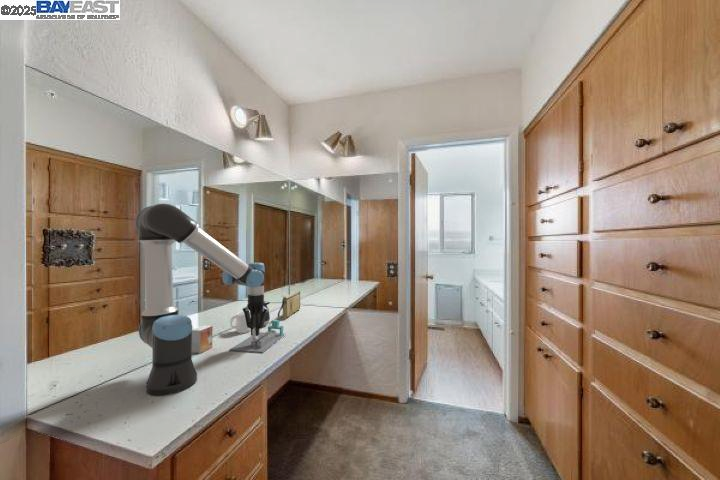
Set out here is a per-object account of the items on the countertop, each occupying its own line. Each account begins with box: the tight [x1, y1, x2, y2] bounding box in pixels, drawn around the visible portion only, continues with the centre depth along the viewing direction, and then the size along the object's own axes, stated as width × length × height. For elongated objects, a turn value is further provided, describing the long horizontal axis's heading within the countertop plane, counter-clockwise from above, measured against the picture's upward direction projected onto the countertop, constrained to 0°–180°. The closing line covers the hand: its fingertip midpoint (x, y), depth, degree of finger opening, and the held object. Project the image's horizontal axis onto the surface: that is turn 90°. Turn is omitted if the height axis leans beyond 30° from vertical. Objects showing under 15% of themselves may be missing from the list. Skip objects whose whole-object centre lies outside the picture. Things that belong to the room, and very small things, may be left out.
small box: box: [192, 324, 213, 354], centre depth 133 cm, size 8×6×10 cm
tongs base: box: [257, 329, 277, 348], centre depth 142 cm, size 18×3×3 cm, turn 171°
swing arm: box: [251, 330, 271, 348], centre depth 141 cm, size 15×2×3 cm, turn 170°
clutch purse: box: [277, 290, 301, 320], centre depth 198 cm, size 30×7×15 cm, turn 172°
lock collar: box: [267, 319, 284, 335], centre depth 153 cm, size 2×8×8 cm, turn 81°
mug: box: [229, 311, 251, 334], centre depth 161 cm, size 12×8×10 cm
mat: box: [228, 331, 285, 354], centre depth 143 cm, size 26×17×1 cm, turn 171°
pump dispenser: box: [255, 301, 271, 327], centre depth 172 cm, size 10×10×15 cm
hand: (254, 342), depth 139 cm, fingers closed
